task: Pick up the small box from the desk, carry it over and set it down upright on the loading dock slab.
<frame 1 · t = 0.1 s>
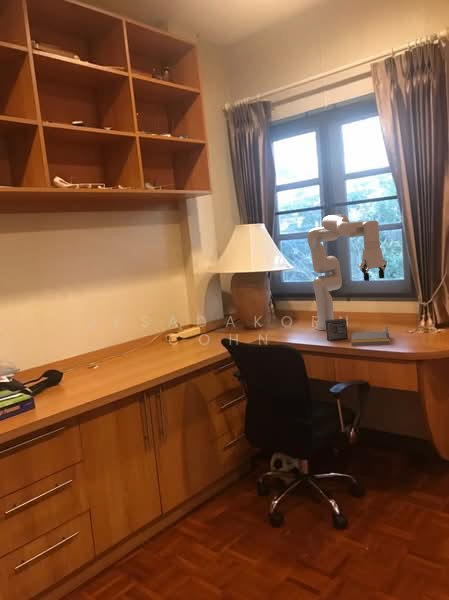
hand: (374, 279, 243), 31 cm above the table, tool pointing down, fingers open, 9 cm apart
small box: (337, 339, 258), on the table
dock: (370, 341, 246), on the table
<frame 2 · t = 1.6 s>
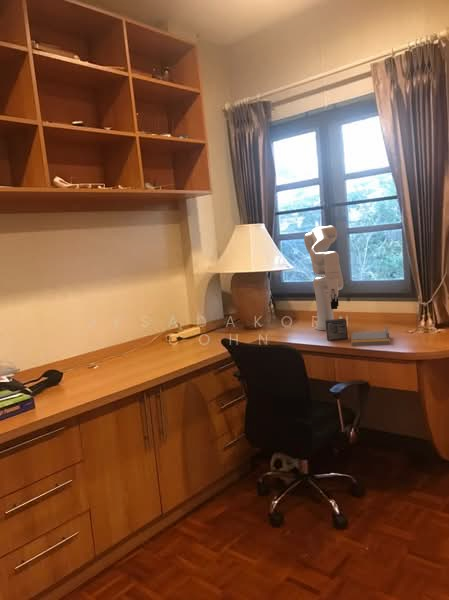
hand: (335, 307, 256), 17 cm above the table, tool pointing down, fingers open, 9 cm apart
nothing on the table moved.
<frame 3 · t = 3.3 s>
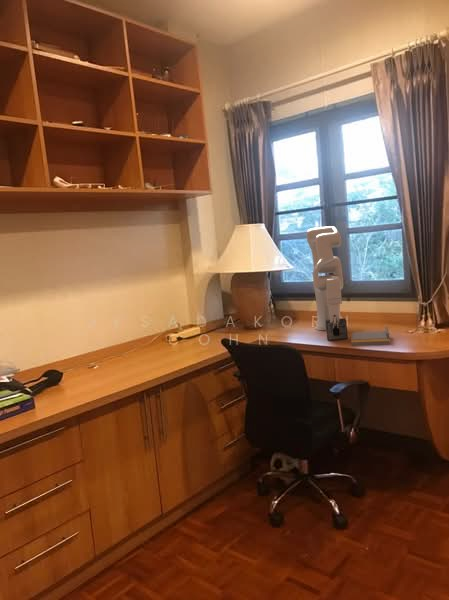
hand: (336, 333, 258), 3 cm above the table, tool pointing down, fingers closed on small box, 7 cm apart
small box: (337, 339, 258), on the table, touching gripper
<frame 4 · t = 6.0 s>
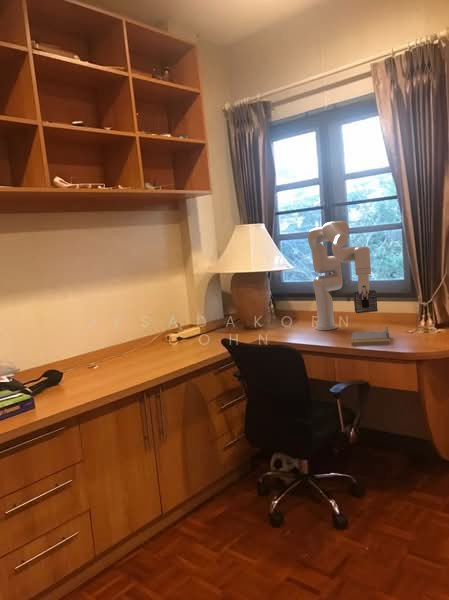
hand: (365, 306, 244), 18 cm above the table, tool pointing down, fingers closed on small box, 7 cm apart
small box: (366, 311, 245), point 15 cm above the table, touching gripper
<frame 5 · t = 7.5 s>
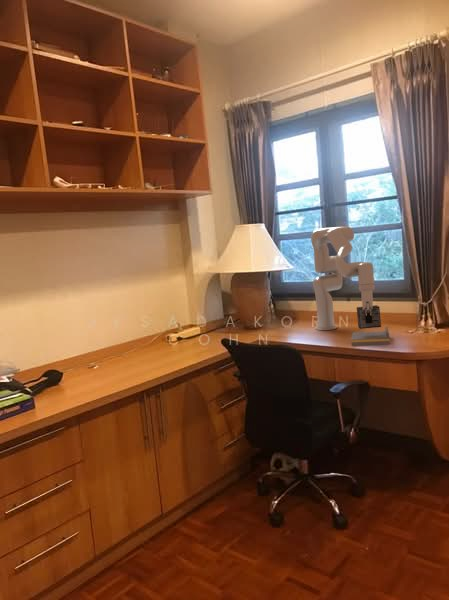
hand: (369, 321, 245), 10 cm above the table, tool pointing down, fingers closed on small box, 7 cm apart
small box: (369, 327, 245), point 7 cm above the table, touching gripper
when the fingers open (7 cm above the table, at t = 8.6 s): small box drops 1 cm, resting on dock.
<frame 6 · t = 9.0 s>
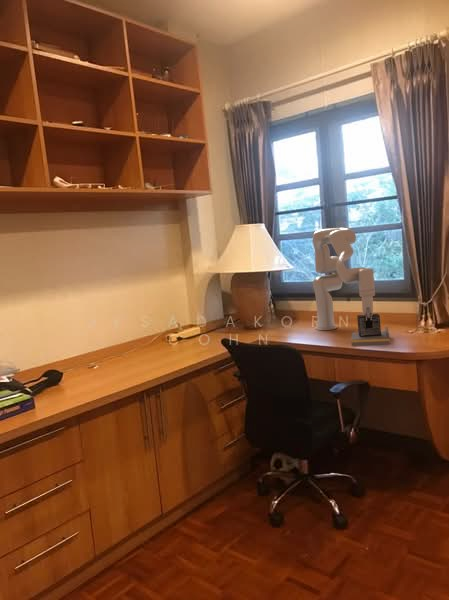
hand: (369, 326, 245), 8 cm above the table, tool pointing down, fingers open, 9 cm apart
small box: (369, 335, 246), point 3 cm above the table, touching dock
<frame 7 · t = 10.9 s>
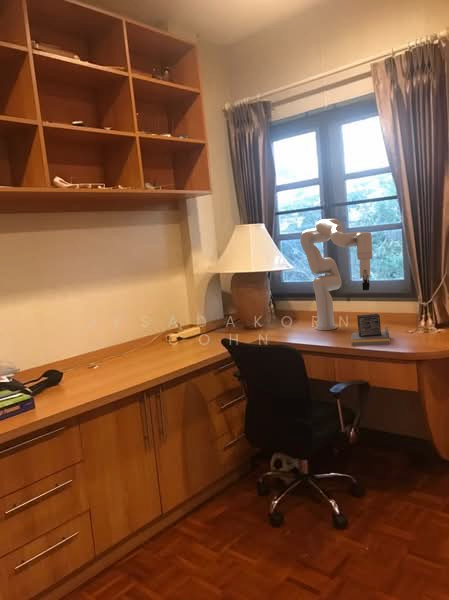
hand: (366, 288, 253), 26 cm above the table, tool pointing down, fingers open, 9 cm apart
nothing on the table moved.
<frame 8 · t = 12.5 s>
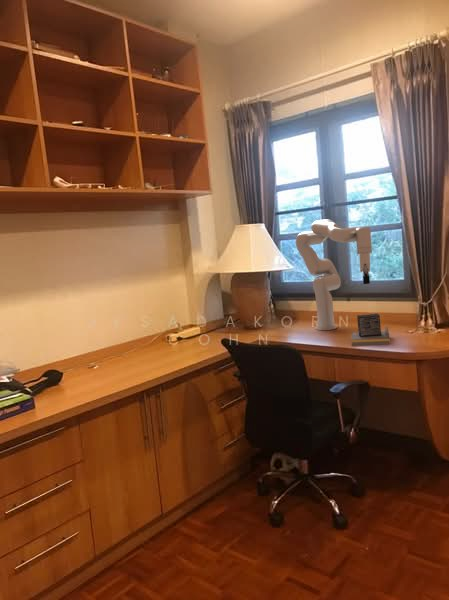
hand: (366, 282, 257), 28 cm above the table, tool pointing down, fingers open, 9 cm apart
nothing on the table moved.
at the end: small box inside the target area on the dock (0.4 cm from its centre), point 2.8 cm above the dock's base; small box tilted 0°; the gripper is holding nothing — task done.
